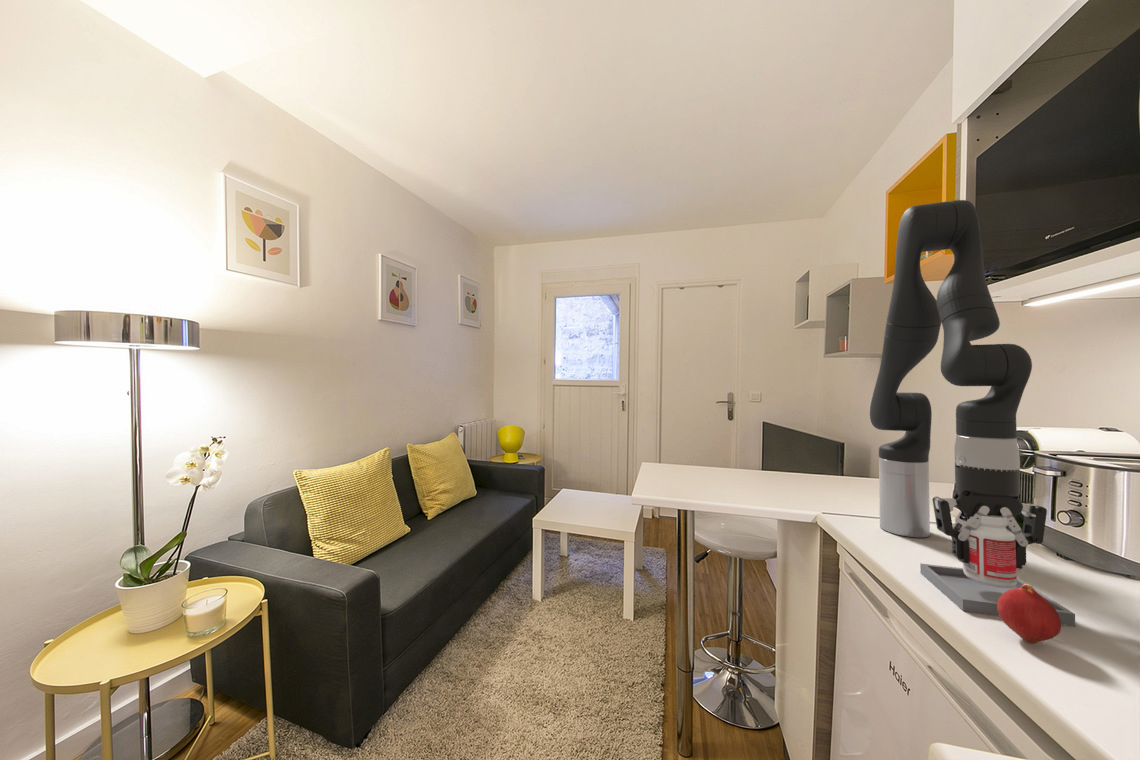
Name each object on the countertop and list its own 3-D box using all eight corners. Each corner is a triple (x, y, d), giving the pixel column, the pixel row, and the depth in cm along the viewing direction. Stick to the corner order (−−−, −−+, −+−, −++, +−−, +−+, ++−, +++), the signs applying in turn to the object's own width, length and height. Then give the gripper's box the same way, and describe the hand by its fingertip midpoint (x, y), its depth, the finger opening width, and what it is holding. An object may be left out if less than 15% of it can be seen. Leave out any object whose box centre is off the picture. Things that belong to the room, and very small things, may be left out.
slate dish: (920, 573, 75) (920, 563, 75) (1010, 583, 70) (1010, 573, 70) (962, 610, 62) (962, 599, 62) (1075, 626, 58) (1075, 614, 58)
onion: (994, 623, 59) (993, 569, 59) (1054, 639, 55) (1053, 581, 55) (1002, 643, 54) (1001, 585, 55) (1068, 662, 51) (1067, 599, 51)
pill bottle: (1023, 584, 65) (1021, 515, 65) (1008, 592, 62) (1006, 521, 62) (972, 568, 70) (970, 505, 70) (955, 575, 68) (954, 510, 68)
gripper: (1025, 461, 68) (1027, 560, 68) (921, 457, 72) (923, 549, 72) (1062, 470, 61) (1065, 581, 60) (945, 465, 65) (947, 567, 65)
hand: (988, 563), depth 66 cm, fingers closed on pill bottle, 6 cm apart
